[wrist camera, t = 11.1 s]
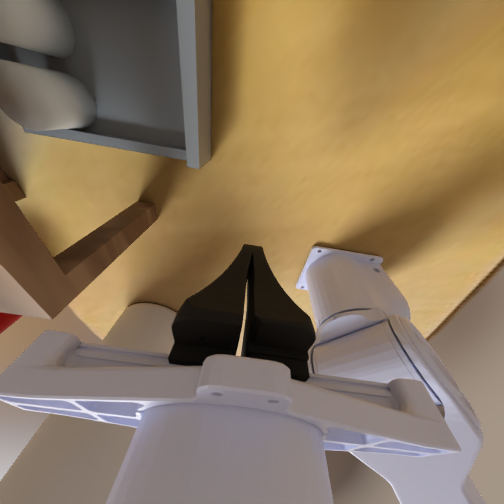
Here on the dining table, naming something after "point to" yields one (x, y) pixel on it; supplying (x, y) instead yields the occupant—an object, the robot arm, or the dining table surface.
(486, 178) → the dining table surface
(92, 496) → the cylinder vase
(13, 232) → the wooden side table
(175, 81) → the tray
